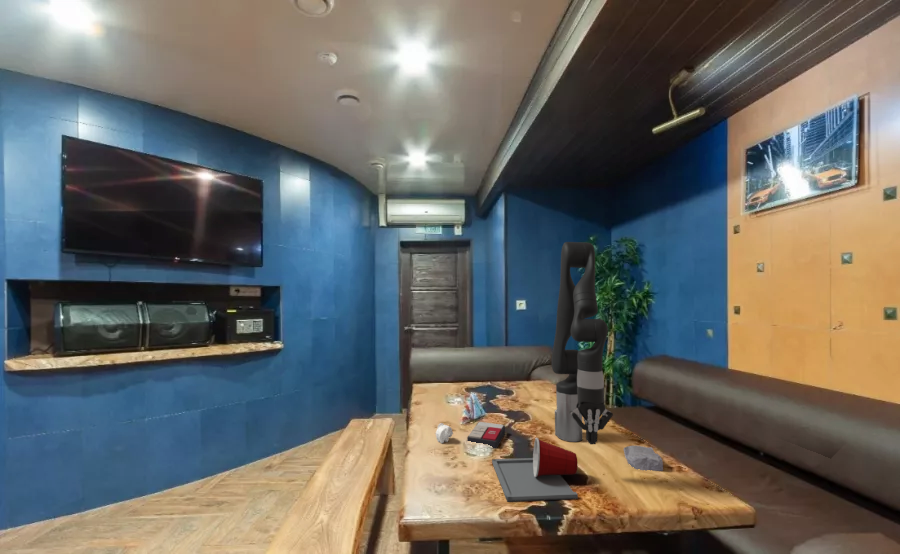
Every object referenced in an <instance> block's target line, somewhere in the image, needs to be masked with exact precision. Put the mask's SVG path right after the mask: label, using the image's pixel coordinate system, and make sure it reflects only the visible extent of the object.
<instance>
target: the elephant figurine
mask: <svg viewBox="0 0 900 554" xmlns="http://www.w3.org/2000/svg"><path fill="white" fill-rule="evenodd" d="M434 434H435V437H436V440H437V442H438V443H440V444H445V443H448V442H449V439H450V438H451V437H452V436H453V435H454V432H453V428H452V427H451V426H449V425H447V424H444V423H443V422H440V423H439V424H438V425H437V429H436V431H435V433H434Z"/></svg>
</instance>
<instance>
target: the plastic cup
mask: <svg viewBox="0 0 900 554" xmlns="http://www.w3.org/2000/svg"><path fill="white" fill-rule="evenodd" d="M534 439H535V440H534V443H533V444H534V445H533V452H532V453H533V454H532V458H533V471H534V477H537V476H542V475H561V476H563V475H576V474H577V471H578V466H579V465H578V464H579V462H578V457H577V454H576V452H573V451H571V450H568V449H566V448H563V447H560V446H557V445H555V444H551V443H549V442H546V441H543V440H542V439H539V437H535V438H534Z"/></svg>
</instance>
